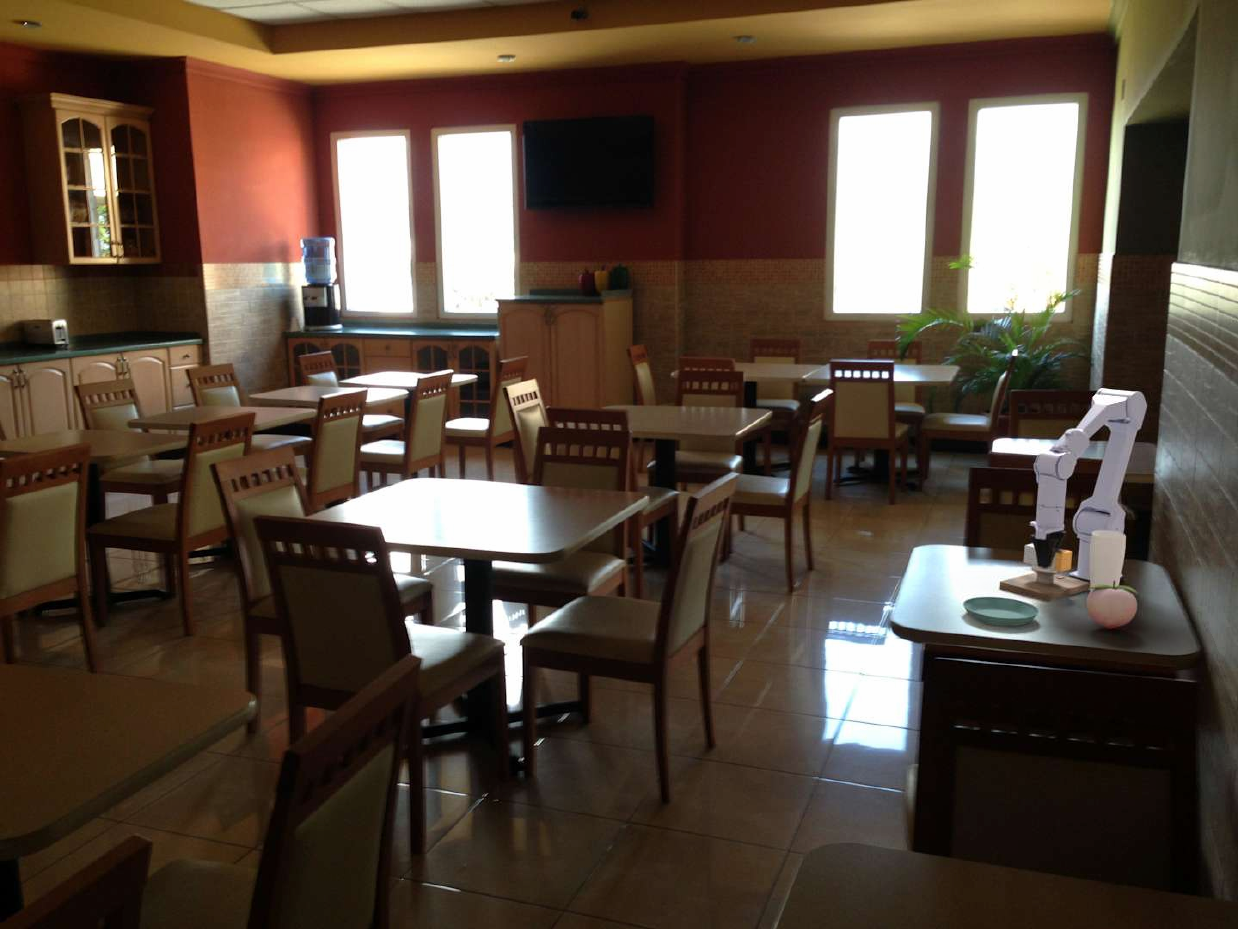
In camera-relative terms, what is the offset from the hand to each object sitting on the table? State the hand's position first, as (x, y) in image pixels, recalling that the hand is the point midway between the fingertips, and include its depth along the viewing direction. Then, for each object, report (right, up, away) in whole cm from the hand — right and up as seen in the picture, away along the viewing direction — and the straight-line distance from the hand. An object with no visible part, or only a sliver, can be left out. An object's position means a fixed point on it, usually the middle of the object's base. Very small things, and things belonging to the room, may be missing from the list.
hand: (1046, 564), depth 232 cm
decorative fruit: (+2, -11, -26) cm, 28 cm away
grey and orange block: (0, -2, 0) cm, 2 cm away
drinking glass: (+9, -7, -8) cm, 14 cm away
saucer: (-17, -10, -19) cm, 28 cm away
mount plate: (0, -6, +1) cm, 6 cm away
